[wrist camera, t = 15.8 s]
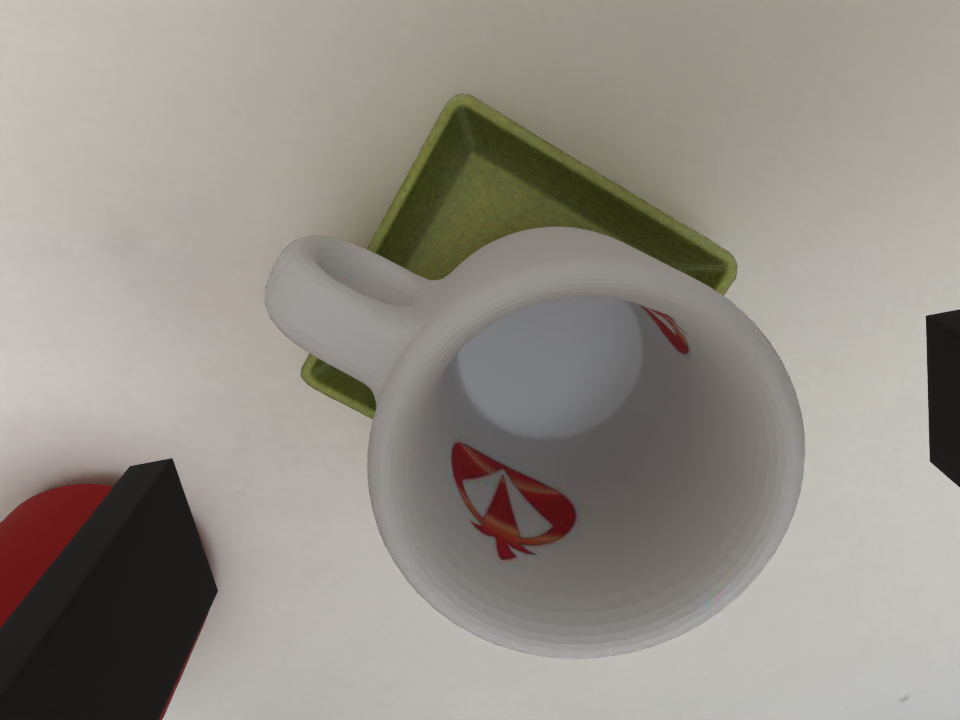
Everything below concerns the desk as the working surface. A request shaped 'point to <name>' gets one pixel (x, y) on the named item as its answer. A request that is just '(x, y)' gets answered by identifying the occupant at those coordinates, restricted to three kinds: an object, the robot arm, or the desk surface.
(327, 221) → the desk surface
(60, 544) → the beverage can
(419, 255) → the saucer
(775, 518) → the cup
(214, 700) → the desk surface
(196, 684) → the desk surface
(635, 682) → the desk surface
